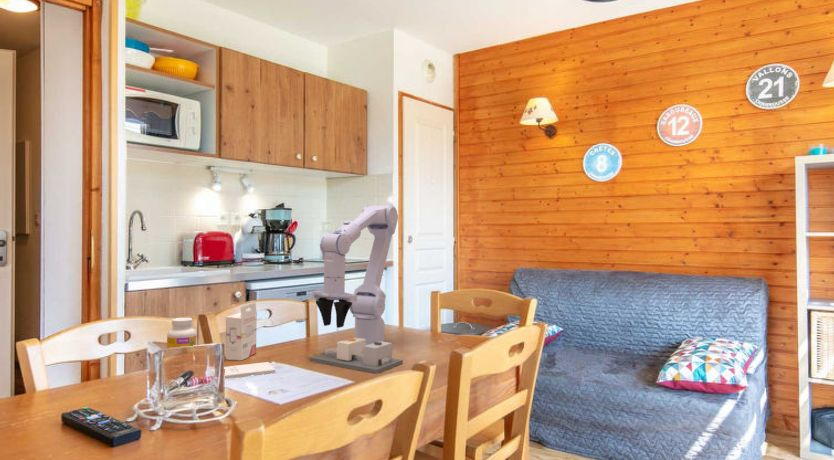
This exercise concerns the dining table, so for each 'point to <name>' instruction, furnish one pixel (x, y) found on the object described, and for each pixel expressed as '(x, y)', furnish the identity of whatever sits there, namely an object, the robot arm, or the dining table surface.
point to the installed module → (376, 352)
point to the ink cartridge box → (241, 333)
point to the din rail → (354, 356)
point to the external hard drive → (248, 370)
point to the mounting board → (355, 363)
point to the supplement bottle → (181, 333)
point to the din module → (350, 348)
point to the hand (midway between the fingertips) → (333, 326)
